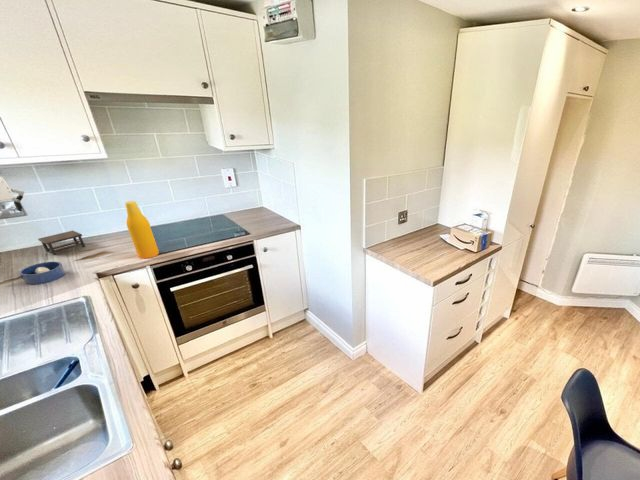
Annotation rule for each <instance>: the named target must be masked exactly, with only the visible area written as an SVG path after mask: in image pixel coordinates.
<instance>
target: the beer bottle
mask: <svg viewBox="0 0 640 480" xmlns="http://www.w3.org/2000/svg"><path fill="white" fill-rule="evenodd" d="M124 204H125V209H126V214H127V217H126V223H125V224H126V227H127V230H128V232H129V235H130V238H131V241H132V244H133V246H134V249H135V251H136V254H137V257H138V258H139V259H151V258H154V257H157V256H158V255H159V254H160V251H159V247H158V244H157V242H156V239H155V237H154V233H153V230H152V228H151V224H150V221H149V220H148V219H147V217H146V216H145V215H144V214H143V213H142V211H141V210H140V208H139V206H138V203H137V202H136V201H134V200H130V201H126V202H124Z"/></svg>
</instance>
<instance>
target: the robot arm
mask: <svg viewBox="0 0 640 480" xmlns="http://www.w3.org/2000/svg"><path fill="white" fill-rule="evenodd" d="M3 173H4V172H3V170H1V169H0V202H1V201H8V200H12V201H13V204H14V206H15V209H16V211H18V212H23V210H22V209H23V206H22V205H21V201H22V199H24V195H25V192H24V191H23V190H20V189H13V188H10V186H9V185H8V183H7V182H6V180H5V178H4V177H3V176H1V174H3ZM14 193H15V194H18V195H17V196H16V197H15V195H14Z"/></svg>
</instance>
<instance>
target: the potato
mask: <svg viewBox="0 0 640 480" xmlns="http://www.w3.org/2000/svg"><path fill="white" fill-rule="evenodd" d="M47 271H50V269H48V268H46V267H38V268H37V269H36V270H35V273H36V274H39V273H43V272H47Z"/></svg>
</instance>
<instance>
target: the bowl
mask: <svg viewBox="0 0 640 480" xmlns="http://www.w3.org/2000/svg"><path fill="white" fill-rule="evenodd" d="M38 267H46V268H48V269H50V271H47V272H43V273H39V274H36V273H35V270H36V269H37V268H38ZM65 274H66V270H65V268H64V266H63V264H62V262H60V261H45V262H38V263H35V264H32V265H29V266H27V267H24V268H22V269H21V270H19V275H20V277H21V278H22V280H23V282H24V283H25V284H30V285H40V284H41V283H42V284H46V282H47V283H50V282H52V281H55V280H56V281H57V280H58V279H60V278H62V277H63V276H64V275H65ZM61 276H62V277H61Z"/></svg>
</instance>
